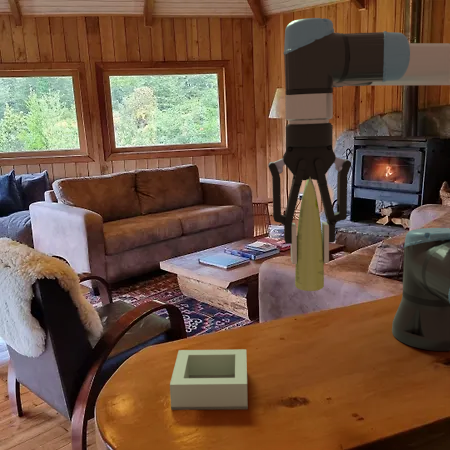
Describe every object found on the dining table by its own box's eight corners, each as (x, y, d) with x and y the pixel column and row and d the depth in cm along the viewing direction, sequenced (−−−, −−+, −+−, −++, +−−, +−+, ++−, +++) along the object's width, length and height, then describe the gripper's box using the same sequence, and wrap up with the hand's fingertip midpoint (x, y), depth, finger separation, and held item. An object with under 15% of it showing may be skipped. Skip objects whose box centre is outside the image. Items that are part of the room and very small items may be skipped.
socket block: (246, 371, 97) (246, 349, 96) (247, 409, 85) (247, 383, 84) (179, 372, 98) (178, 350, 97) (171, 409, 86) (169, 384, 85)
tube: (333, 288, 89) (333, 174, 85) (310, 295, 86) (309, 177, 82) (310, 280, 94) (309, 171, 90) (288, 286, 91) (286, 174, 87)
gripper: (359, 119, 88) (357, 253, 93) (253, 123, 88) (257, 256, 93) (369, 120, 80) (367, 266, 85) (254, 124, 81) (258, 269, 86)
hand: (309, 261), depth 89 cm, fingers closed on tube, 5 cm apart
